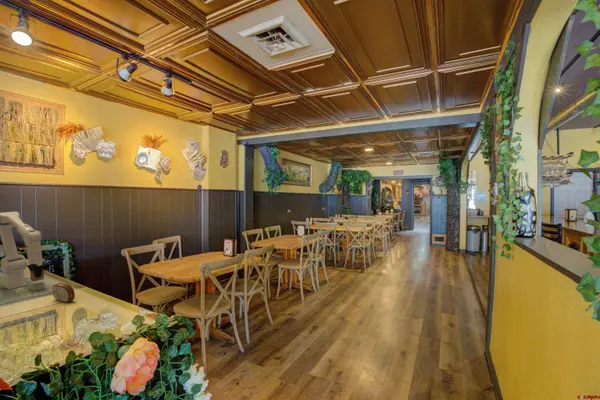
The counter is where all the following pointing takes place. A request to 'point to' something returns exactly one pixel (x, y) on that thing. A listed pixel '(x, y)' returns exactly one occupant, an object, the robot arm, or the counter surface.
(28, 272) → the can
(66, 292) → the tin
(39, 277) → the walnut block
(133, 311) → the counter surface
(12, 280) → the robot arm
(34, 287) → the slate block
